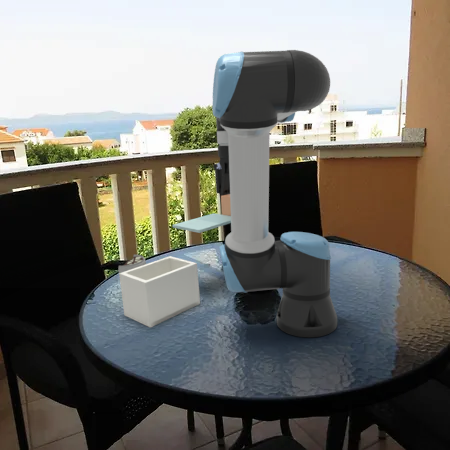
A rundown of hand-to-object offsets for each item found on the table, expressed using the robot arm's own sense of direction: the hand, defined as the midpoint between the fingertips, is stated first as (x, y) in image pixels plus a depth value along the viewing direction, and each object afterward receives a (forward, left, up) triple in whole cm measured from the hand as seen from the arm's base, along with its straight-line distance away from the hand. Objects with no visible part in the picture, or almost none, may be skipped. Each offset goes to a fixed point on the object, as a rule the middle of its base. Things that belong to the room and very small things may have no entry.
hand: (233, 215), depth 137 cm
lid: (0, +9, 0) cm, 9 cm away
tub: (-1, +33, -21) cm, 39 cm away
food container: (+18, +28, -21) cm, 39 cm away
